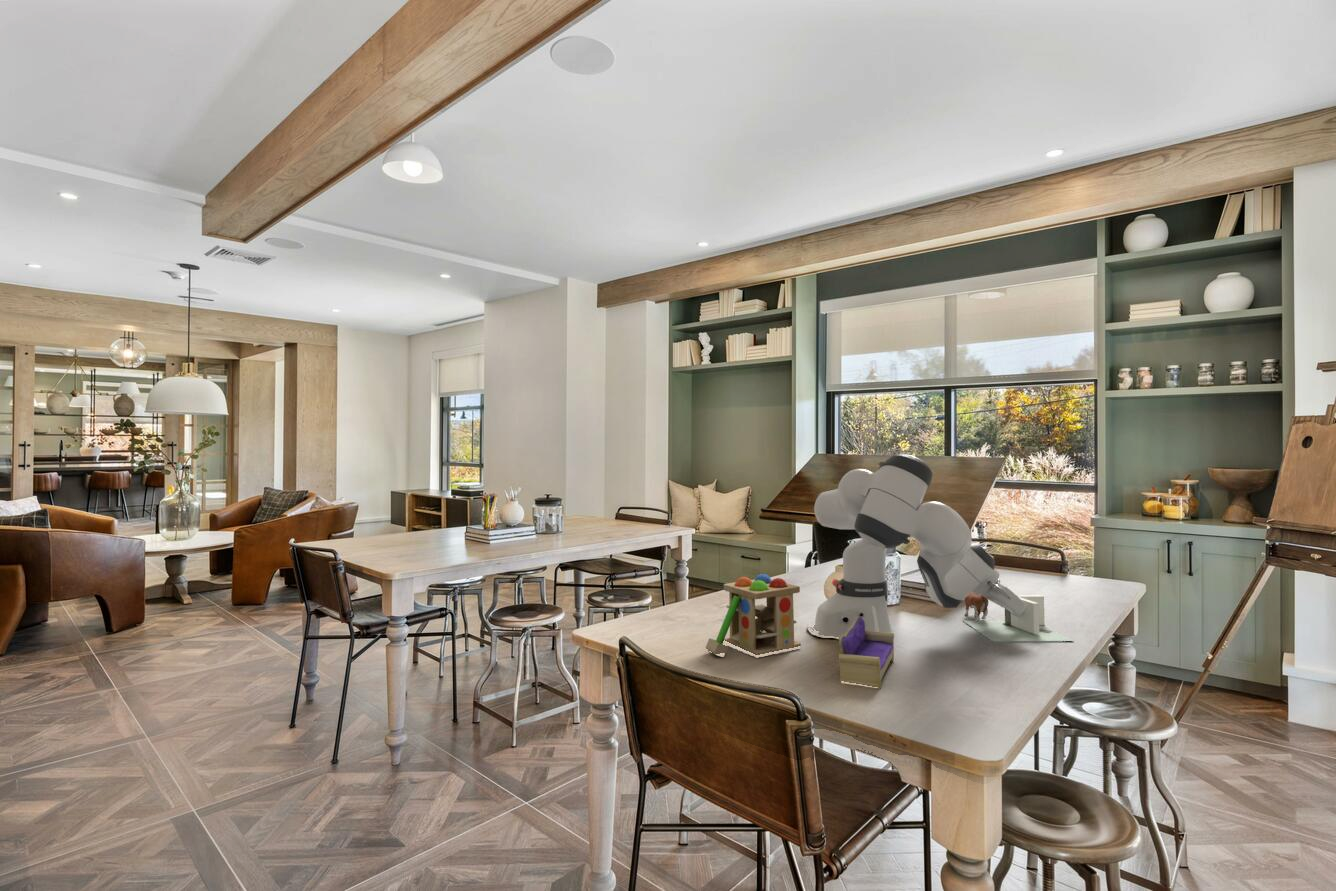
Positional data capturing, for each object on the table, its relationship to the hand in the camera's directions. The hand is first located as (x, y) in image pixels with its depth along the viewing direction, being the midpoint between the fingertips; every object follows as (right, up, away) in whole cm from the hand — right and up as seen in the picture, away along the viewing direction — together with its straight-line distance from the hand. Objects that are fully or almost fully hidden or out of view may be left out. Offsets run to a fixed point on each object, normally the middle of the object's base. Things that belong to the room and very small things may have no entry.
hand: (1019, 615), depth 177 cm
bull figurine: (-5, -5, +15) cm, 17 cm away
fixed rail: (+4, -4, +6) cm, 8 cm away
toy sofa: (-50, -6, -29) cm, 58 cm away
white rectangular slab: (+2, -4, 0) cm, 4 cm away
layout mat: (-1, -5, +1) cm, 5 cm away
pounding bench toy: (-74, -6, -11) cm, 75 cm away
